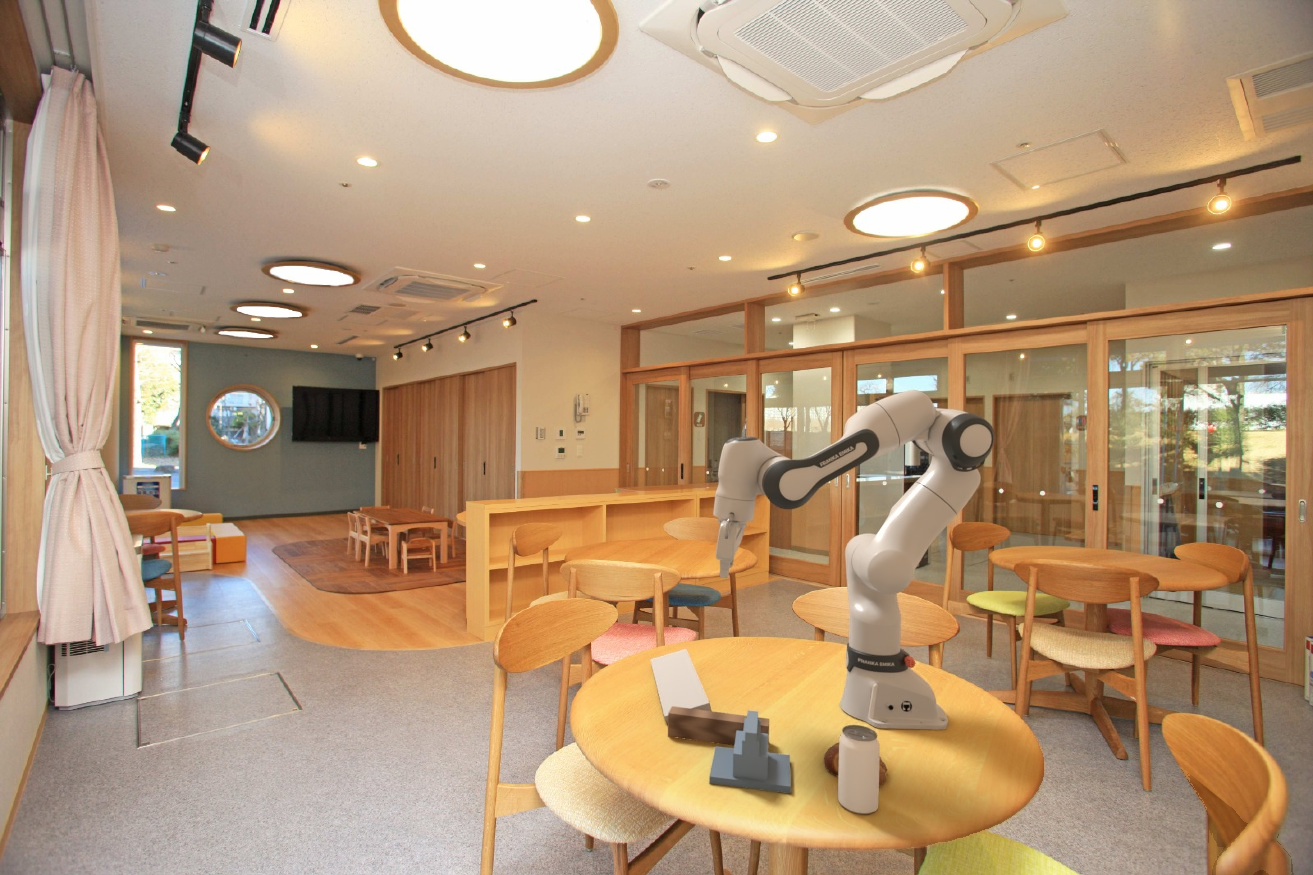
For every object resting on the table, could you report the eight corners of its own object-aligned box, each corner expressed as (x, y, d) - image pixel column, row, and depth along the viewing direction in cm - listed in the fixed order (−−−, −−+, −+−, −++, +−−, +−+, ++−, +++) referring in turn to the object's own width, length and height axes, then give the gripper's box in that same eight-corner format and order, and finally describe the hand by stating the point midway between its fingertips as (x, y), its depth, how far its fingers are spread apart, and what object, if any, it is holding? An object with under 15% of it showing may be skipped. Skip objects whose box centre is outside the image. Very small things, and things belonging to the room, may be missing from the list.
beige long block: (669, 738, 133) (715, 724, 134) (664, 716, 132) (709, 702, 133) (654, 676, 167) (690, 665, 168) (650, 659, 166) (686, 648, 167)
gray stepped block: (789, 761, 118) (790, 712, 118) (790, 793, 107) (791, 740, 107) (715, 752, 121) (716, 705, 121) (709, 783, 110) (710, 731, 110)
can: (873, 820, 100) (875, 745, 100) (833, 807, 104) (834, 734, 104) (882, 801, 106) (884, 730, 106) (843, 788, 109) (845, 720, 109)
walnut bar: (768, 743, 126) (769, 718, 126) (767, 751, 122) (768, 726, 122) (671, 730, 130) (672, 706, 130) (667, 737, 127) (668, 713, 127)
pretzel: (903, 783, 112) (904, 762, 112) (855, 796, 108) (855, 774, 108) (857, 751, 123) (857, 732, 123) (811, 761, 119) (812, 742, 119)
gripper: (744, 519, 126) (735, 587, 127) (751, 505, 146) (744, 563, 147) (713, 515, 127) (705, 581, 128) (725, 501, 147) (717, 559, 148)
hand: (726, 571), depth 138 cm, fingers open, 8 cm apart
